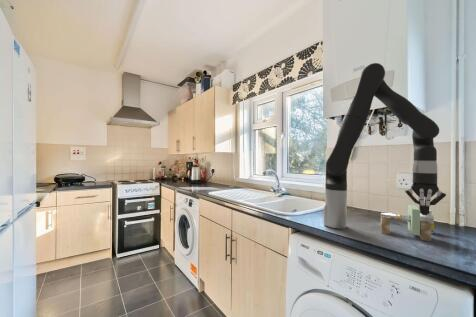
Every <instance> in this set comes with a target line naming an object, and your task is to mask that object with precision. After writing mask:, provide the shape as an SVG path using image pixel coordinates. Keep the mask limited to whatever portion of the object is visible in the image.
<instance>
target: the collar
mask: <svg viewBox="0 0 476 317" xmlns="http://www.w3.org/2000/svg"><path fill="white" fill-rule="evenodd" d="M407 216H411V222H407V229H408V231H409V232H410V233H411V235H413V236H418V235H419V236H420V209H419V208H418V207H417V206H416V205H413V204H407ZM419 236H418V237H419Z"/></svg>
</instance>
